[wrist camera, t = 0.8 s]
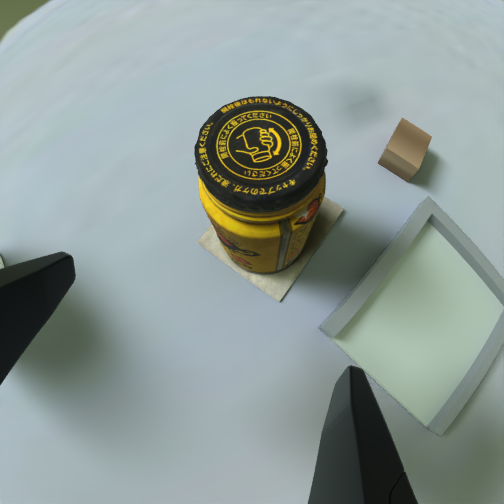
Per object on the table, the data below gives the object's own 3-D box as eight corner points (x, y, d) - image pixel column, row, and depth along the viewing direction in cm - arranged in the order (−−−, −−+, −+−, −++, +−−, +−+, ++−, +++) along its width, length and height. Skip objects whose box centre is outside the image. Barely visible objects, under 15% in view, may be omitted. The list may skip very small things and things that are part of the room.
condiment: (197, 243, 23) (138, 161, 12) (265, 159, 25) (264, 42, 13) (278, 302, 22) (295, 271, 10) (343, 210, 23) (400, 113, 12)
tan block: (407, 182, 24) (419, 169, 21) (377, 163, 24) (386, 148, 22) (421, 150, 24) (431, 136, 22) (393, 132, 25) (402, 117, 23)
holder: (429, 431, 19) (440, 436, 17) (318, 327, 21) (322, 327, 20) (510, 306, 21) (522, 304, 19) (419, 204, 23) (428, 196, 21)
